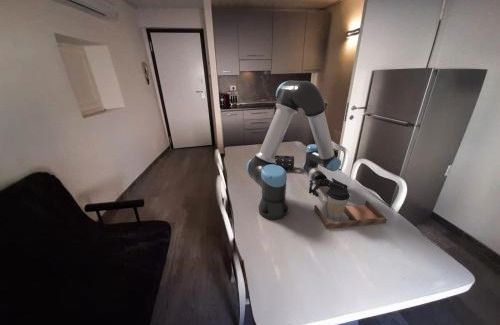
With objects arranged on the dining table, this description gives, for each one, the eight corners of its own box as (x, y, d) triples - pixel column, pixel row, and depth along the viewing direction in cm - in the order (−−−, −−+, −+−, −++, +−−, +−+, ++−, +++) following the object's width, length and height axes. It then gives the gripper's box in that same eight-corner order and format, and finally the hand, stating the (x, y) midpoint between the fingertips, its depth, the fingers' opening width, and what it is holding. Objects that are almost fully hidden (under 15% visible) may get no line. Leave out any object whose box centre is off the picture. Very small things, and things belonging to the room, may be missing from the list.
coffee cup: (327, 208, 101) (331, 183, 95) (347, 215, 95) (352, 189, 89) (320, 218, 94) (324, 191, 88) (341, 226, 89) (346, 199, 82)
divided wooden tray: (325, 228, 88) (326, 224, 87) (313, 209, 101) (314, 205, 100) (385, 223, 90) (387, 218, 89) (366, 204, 102) (367, 200, 101)
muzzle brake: (293, 172, 138) (294, 158, 134) (254, 170, 144) (253, 157, 140) (293, 166, 147) (294, 153, 143) (256, 164, 152) (256, 152, 148)
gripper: (337, 180, 115) (359, 202, 96) (295, 184, 114) (309, 206, 94) (339, 169, 112) (362, 188, 93) (296, 172, 110) (311, 193, 91)
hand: (335, 198), depth 94 cm, fingers open, 13 cm apart
